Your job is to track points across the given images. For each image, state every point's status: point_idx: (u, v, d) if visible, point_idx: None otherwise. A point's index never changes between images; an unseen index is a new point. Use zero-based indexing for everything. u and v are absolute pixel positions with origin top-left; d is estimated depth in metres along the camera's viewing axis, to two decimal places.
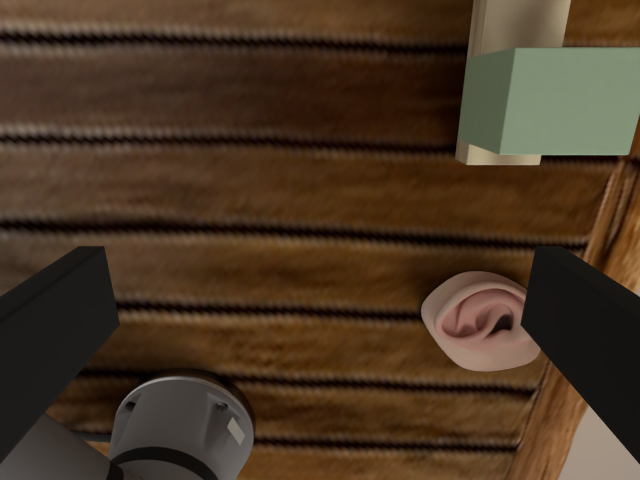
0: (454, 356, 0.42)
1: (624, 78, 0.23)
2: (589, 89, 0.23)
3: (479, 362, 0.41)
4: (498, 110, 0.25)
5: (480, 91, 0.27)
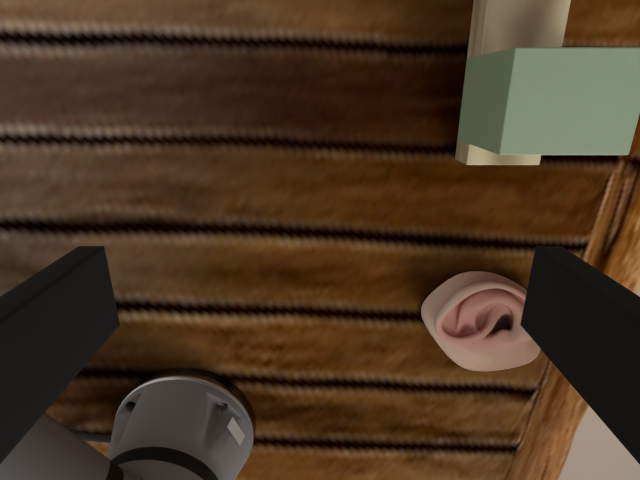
0: (454, 356, 0.42)
1: (624, 78, 0.23)
2: (589, 89, 0.23)
3: (479, 362, 0.41)
4: (498, 110, 0.25)
5: (480, 91, 0.27)
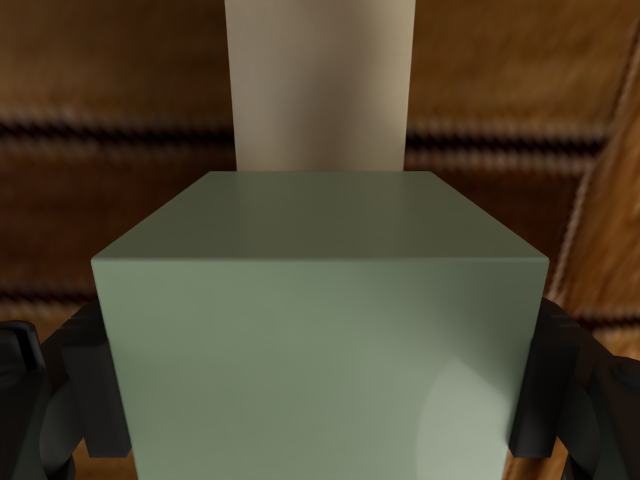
0: None
1: (456, 339, 0.07)
2: (353, 364, 0.08)
3: None
4: None
5: None
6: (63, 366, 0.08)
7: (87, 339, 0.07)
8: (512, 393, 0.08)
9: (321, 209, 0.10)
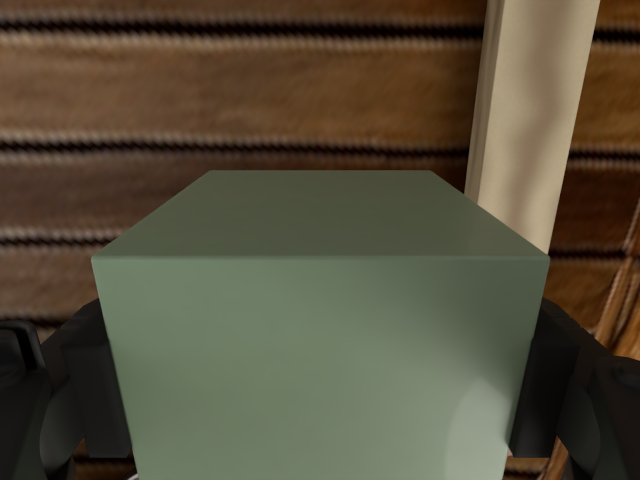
0: None
1: (456, 337, 0.07)
2: (354, 362, 0.08)
3: None
4: None
5: None
6: (63, 366, 0.08)
7: (87, 339, 0.07)
8: (512, 392, 0.08)
9: (321, 208, 0.10)
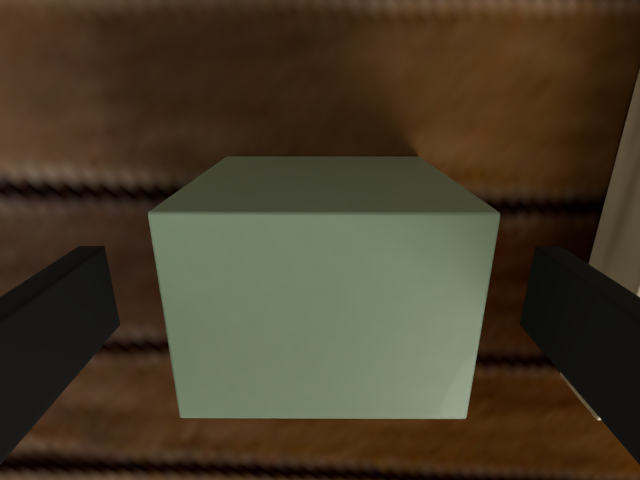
0: None
1: (430, 278, 0.10)
2: (350, 299, 0.10)
3: None
4: None
5: None
6: None
7: None
8: (475, 324, 0.10)
9: (324, 182, 0.12)
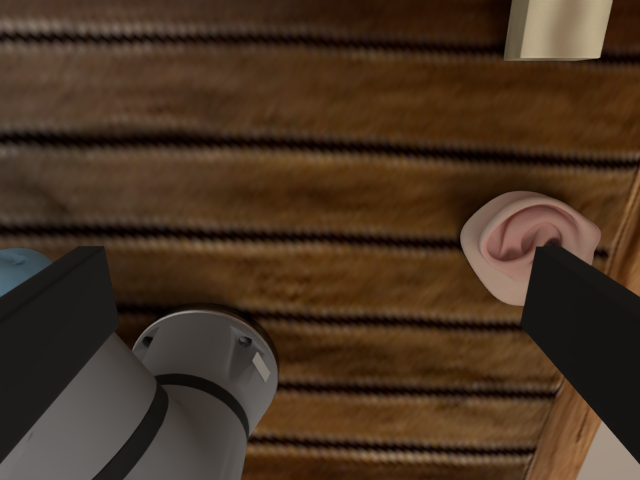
0: (494, 288, 0.39)
1: None
2: None
3: (521, 293, 0.39)
4: None
5: None
6: None
7: None
8: None
9: None
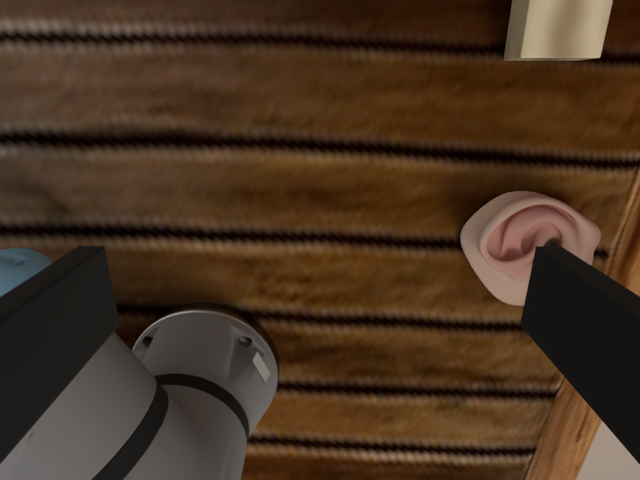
0: (494, 288, 0.39)
1: None
2: None
3: (521, 293, 0.39)
4: None
5: None
6: None
7: None
8: None
9: None
